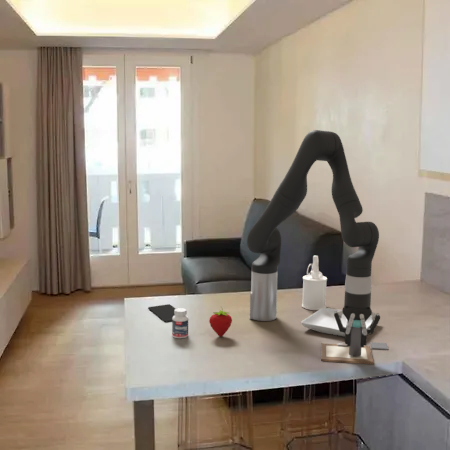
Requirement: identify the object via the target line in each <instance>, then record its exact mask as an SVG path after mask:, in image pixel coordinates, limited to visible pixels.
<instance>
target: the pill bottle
mask: <svg viewBox="0 0 450 450" xmlns="http://www.w3.org/2000/svg"><path fill="white" fill-rule="evenodd" d="M187 313H188V311H187V309H186V308H183V307H179V308H176V309H175V310H174V314H175V315H174V316H173V318H172V322H171V332H172V334H171V336H172V337H173V338H175V339H186V338H188V336H189V316H188V315H187Z"/></svg>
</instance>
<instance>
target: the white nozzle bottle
mask: <svg viewBox="0 0 450 450" xmlns="http://www.w3.org/2000/svg"><path fill="white" fill-rule="evenodd" d="M319 262H320V261H319V255H313V256H312V263H309V264H308V266H307V269H306V275H303V276H302V281H303V283H302V304H301V307H302V308H303V309H306V310H308V311H318V310H320V309H321V308H327V304H326V302H327V300H326V299H327V281H328V278H327V276H324V275H323V273H322V272H321V271H320V270H319V268H320V267H319ZM309 268H311V270H310V272H309Z"/></svg>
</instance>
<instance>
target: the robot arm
mask: <svg viewBox="0 0 450 450" xmlns="http://www.w3.org/2000/svg"><path fill="white" fill-rule="evenodd" d="M341 139H342V138H341V137H340V136H339V135H338V134H337V133H336V132H333V131H329V130H328V131H327V130H321V129H320V130H318V129H313V130H311V131H309V132H308V133H307V134H306V135H305V136H304V138H303V139H302V142H301V144H300V145H299V148H298V151H297V153H296V154H295V157H294V159H293V161H292V163H291V165H290V167H289V168H288V171H287V172H286V174H285V176H284V178H283V179H282V181H281V182H280V184H279V186H278V187H277V189H276V190H275V192H274V194H273V197H272V198H271V200H270V201H269V203H268V204H267V206H266V208H265V209H264V211H263V212H262V214H261V215H260V217H259V218H258V219H257V221H256V222H255V223H254V224H253V226H252V227H251V229H250V230H249V232H248V234H247V237H246V246H247V248H248V250H249V251H250V252H252V253H253V254H260V255H259V256H258V257H257V258H256V259H255V260H254V261H252V264H251V272H250V273H251V274H250V275H251V281H250V286H251V287H250V294H249V297H250V298H249V320H255V321H259V322H271V321H274V320H275V319H277V313H278V312H277V306H278V303H277V302H278V299H277V298H278V267H279V265H280V262H281V252H282V251H281V250H282V236H281V232H280V230H279V228H278V226H280V225H281V224H282V223H283V222H285V221H286V220H287V219H289V218H290V217H291V216H292V215H294V214H295V213H296V211H297V210H298V209H299V208H300V206H301V204H302V203H303V201H304V200H305V198H306V196H307V194H308V178H307V177H308V174H309V171H310V169H311V168H312V166H313V165H314V164H315V163H316V162H317V161H320V162H327V164H328V166H329V167H330V169H331V173H332V182H331V197H332V200H333V203H334V206H335V209H336V211H337V213H338V216H339V224H340V235H341V239H342V241H343V242H344V244H345V245H346V246H348V247H349V248H357V247H358V249H357V250H356V252H354V253H351V254H350V255H348V256H347V260H346V274H345V275H346V276H345V281H344V282H345V283H344V299H343V300H344V305H343V307H342V309H340V310H341V311H334V317H335V319H336V322H337V325H338V328H339V331H340V332H344V333H345V337H344V343H345V344H347V346H350V330H351V327H352V324H353V320H361V326H362V345H361V347H364V346H367V340H368V339H367V337H368V335H372V334H374V332H375V330H376V328H377V327H378V323H379V322H380V319H381V315H380V313H379V312H377V313H376V312H373V310H372V309H371V305H372V303H371V302H372V261H373V259H374V256H375V253H376V250H377V247H378V245H379V240H380V232H379V231H380V230H379V229H378V226H377V224H376V223H374V222H373V221H359V222H358V221H356V219H357V218H358V217H360V216H361V215H362V214H363V212H364V209H363V205H362V203H361V201H360V198H359V196H358V194H357V192H356V189H355V186H354V184H353V181H352V177H351V174H350V170H349V169H350V168H349V166H348V161H347V157H346V153H345V148H344V145H343V142H342V140H341ZM342 314H344V316H345V317H346V318H347V320H348V321H347V325H346V328H345V327H343V325H342V322H341V318H342ZM370 316H372V320H373V321H372V323H371V325H370V327H369V328H368V329H366V324H365V322H366V320H367V319H368V318H369V317H370Z"/></svg>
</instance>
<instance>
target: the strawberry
mask: <svg viewBox="0 0 450 450" xmlns="http://www.w3.org/2000/svg"><path fill="white" fill-rule="evenodd" d="M220 308H221V310H220V309H219V311H217V312H213V314H212V315H211V316H210V317H209V321H208V322H209V324H210V328H211V329H212V330H213V331H214V332H215V333H216V335H218V337H223V336H224V335H225V334H226V333H227V332H228V330H229V329H230V327H231V325H232V322H233V319H232V316H231V315H230V314H229V313H228V312H227V311H224V310H223V307H222V306H220Z"/></svg>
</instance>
